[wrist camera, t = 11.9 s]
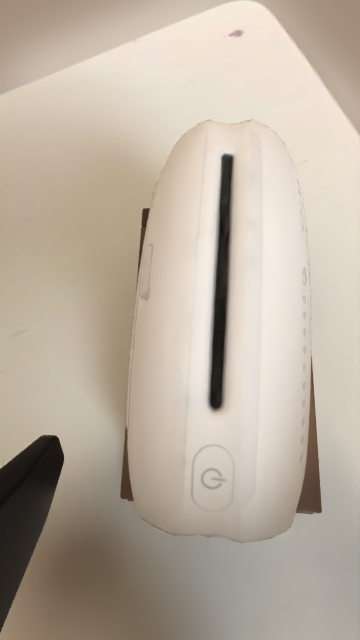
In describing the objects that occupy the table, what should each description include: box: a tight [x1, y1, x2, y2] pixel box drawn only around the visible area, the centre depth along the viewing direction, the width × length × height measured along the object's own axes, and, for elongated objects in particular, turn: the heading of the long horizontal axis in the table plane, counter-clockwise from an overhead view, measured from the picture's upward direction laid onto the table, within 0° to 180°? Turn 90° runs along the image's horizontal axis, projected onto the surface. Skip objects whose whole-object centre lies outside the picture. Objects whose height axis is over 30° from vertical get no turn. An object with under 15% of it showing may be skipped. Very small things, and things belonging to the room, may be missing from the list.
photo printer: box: [126, 120, 311, 543], centre depth 12 cm, size 10×4×12 cm, turn 175°
